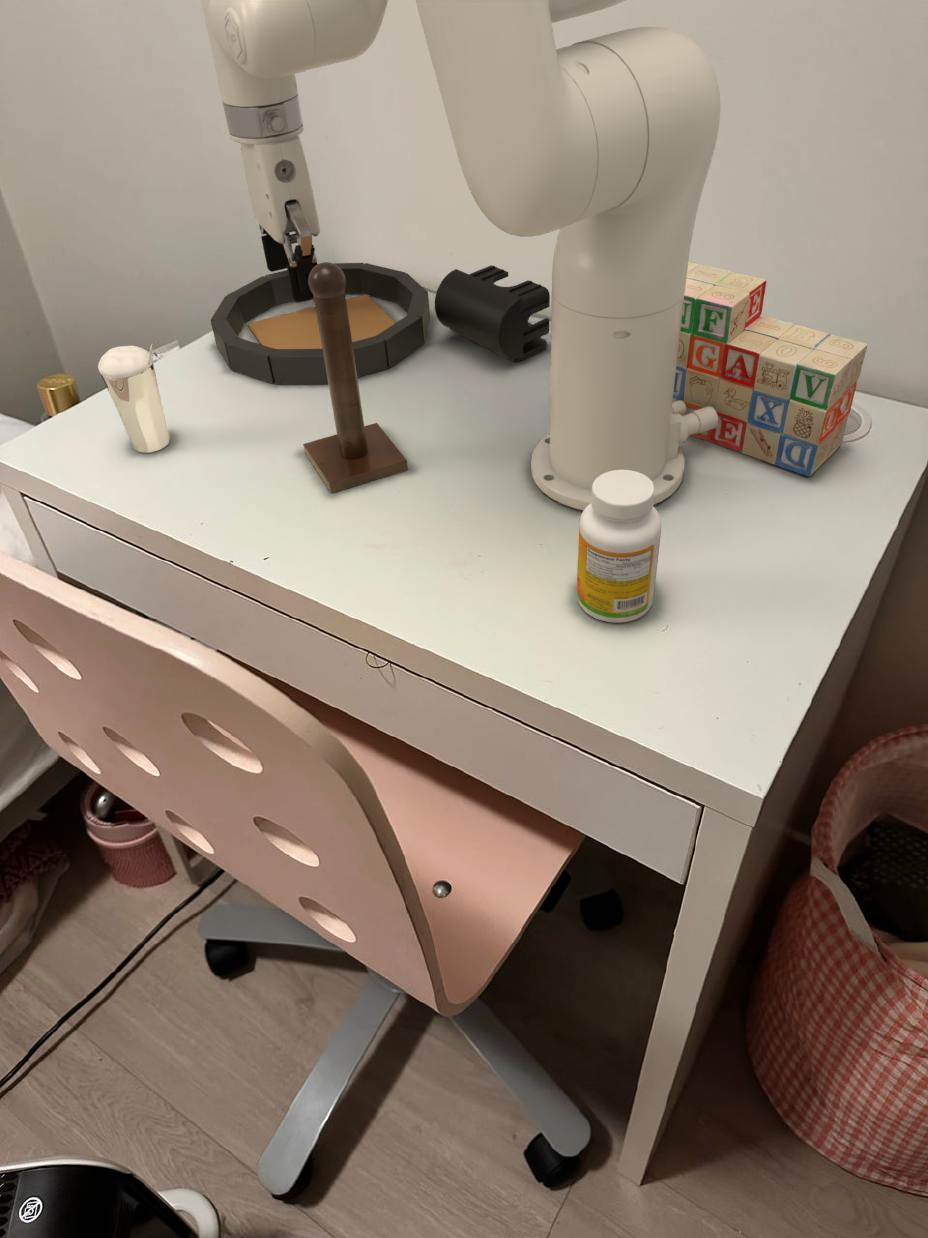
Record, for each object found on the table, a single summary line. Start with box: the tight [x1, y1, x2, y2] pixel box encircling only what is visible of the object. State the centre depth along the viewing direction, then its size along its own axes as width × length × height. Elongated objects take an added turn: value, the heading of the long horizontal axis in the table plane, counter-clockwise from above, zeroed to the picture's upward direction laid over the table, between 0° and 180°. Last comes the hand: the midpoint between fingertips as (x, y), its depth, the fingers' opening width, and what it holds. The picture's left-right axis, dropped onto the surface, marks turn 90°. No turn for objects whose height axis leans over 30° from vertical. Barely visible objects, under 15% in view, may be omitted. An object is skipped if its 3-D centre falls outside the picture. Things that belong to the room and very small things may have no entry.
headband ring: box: [210, 262, 431, 386], centre depth 98 cm, size 22×22×3 cm
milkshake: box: [97, 341, 171, 454], centre depth 81 cm, size 5×5×10 cm
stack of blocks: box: [672, 261, 868, 478], centre depth 78 cm, size 21×6×12 cm, turn 49°
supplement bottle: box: [576, 470, 662, 624], centre depth 63 cm, size 5×5×10 cm
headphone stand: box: [302, 261, 409, 494], centre depth 75 cm, size 7×7×17 cm
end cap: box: [434, 265, 551, 362], centre depth 93 cm, size 10×7×7 cm
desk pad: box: [247, 294, 396, 349], centre depth 99 cm, size 14×12×1 cm
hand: (294, 283), depth 105 cm, fingers open, 9 cm apart
